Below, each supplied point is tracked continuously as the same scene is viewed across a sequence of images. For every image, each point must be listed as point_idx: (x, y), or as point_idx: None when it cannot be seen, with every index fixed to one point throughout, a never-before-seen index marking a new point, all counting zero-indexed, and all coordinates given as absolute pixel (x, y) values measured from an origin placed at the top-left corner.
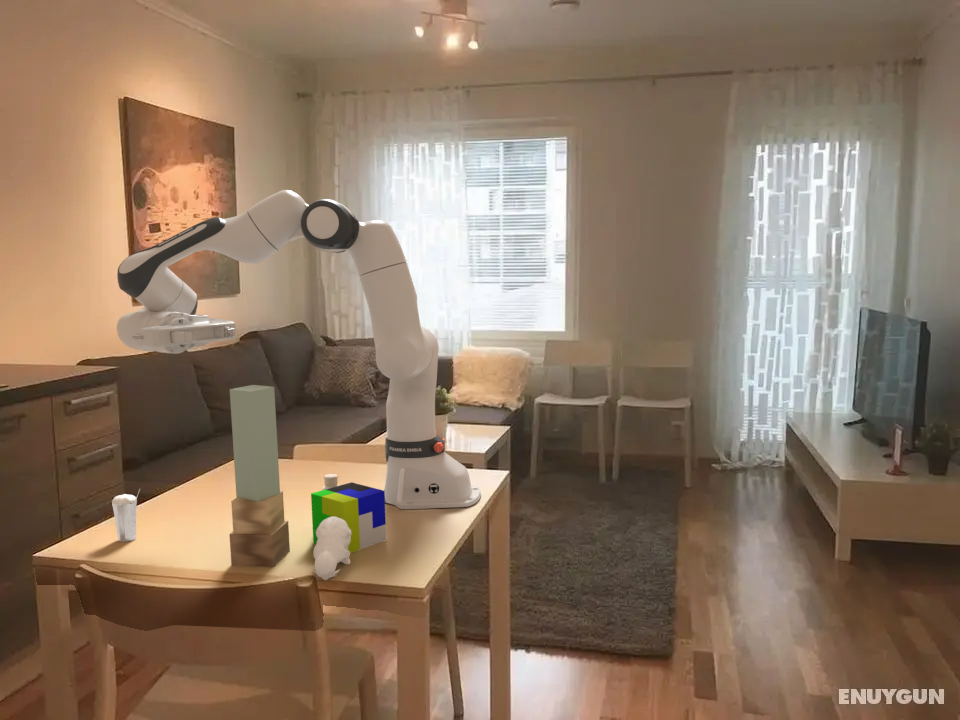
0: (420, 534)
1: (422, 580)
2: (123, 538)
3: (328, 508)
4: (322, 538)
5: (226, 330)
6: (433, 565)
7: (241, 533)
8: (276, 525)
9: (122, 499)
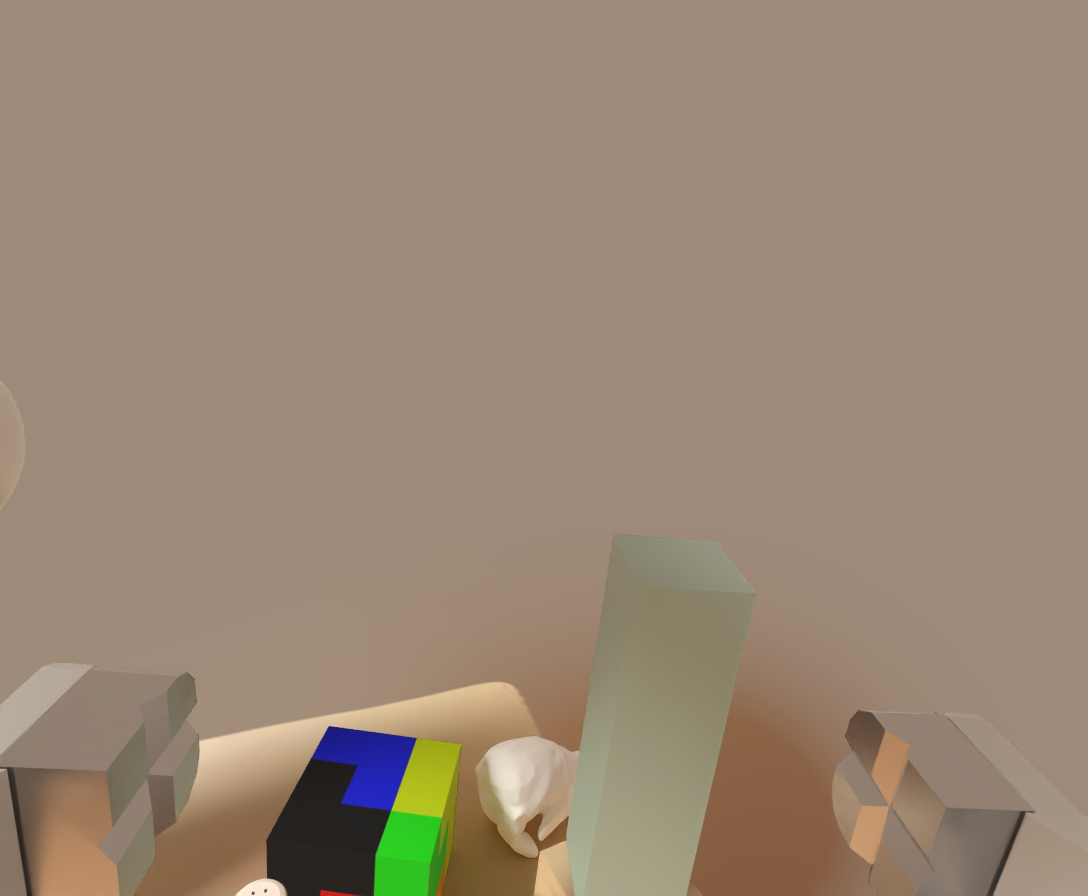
0: (264, 790)
1: (487, 685)
2: None
3: (446, 817)
4: (567, 759)
5: (149, 739)
6: (424, 699)
7: None
8: None
9: None
